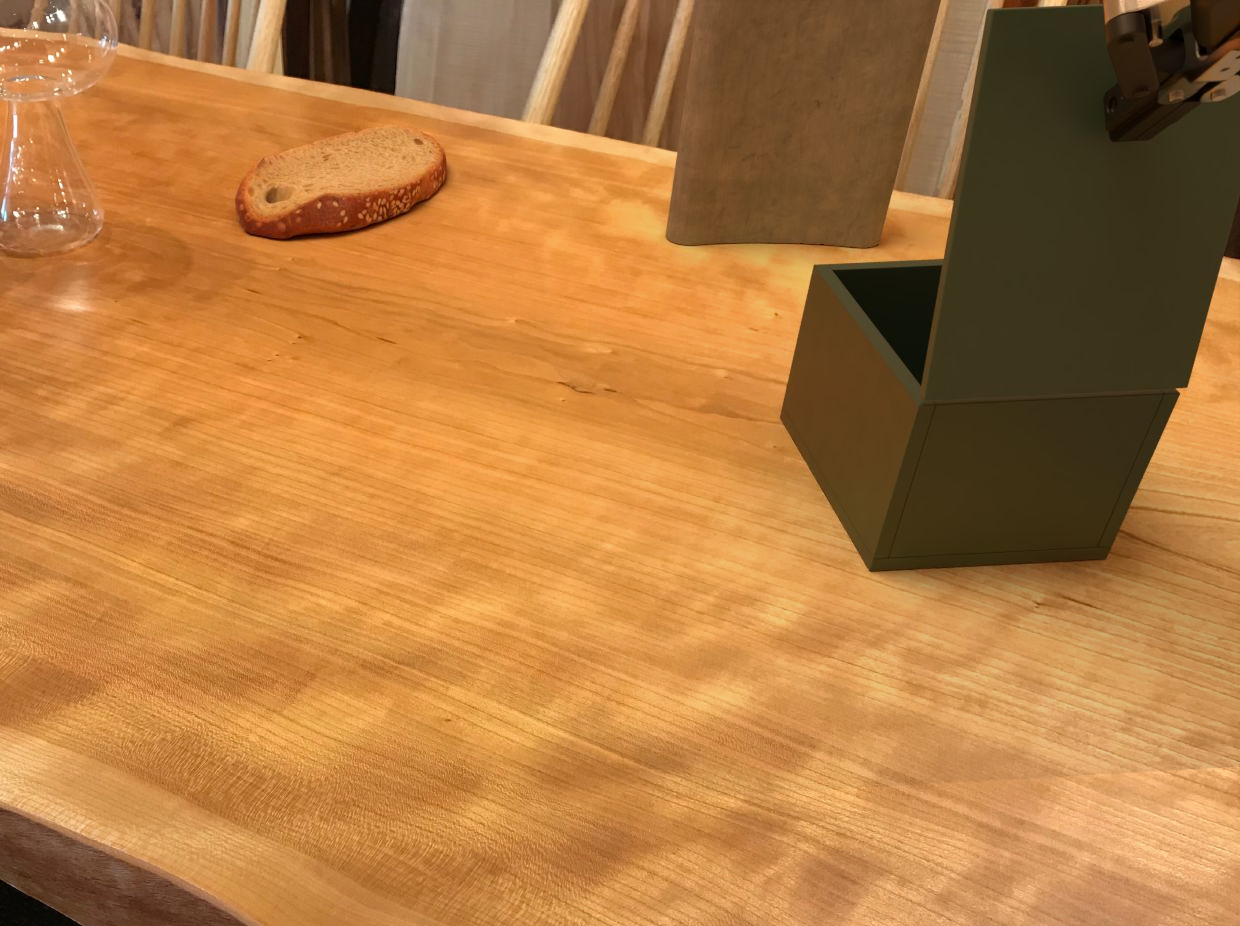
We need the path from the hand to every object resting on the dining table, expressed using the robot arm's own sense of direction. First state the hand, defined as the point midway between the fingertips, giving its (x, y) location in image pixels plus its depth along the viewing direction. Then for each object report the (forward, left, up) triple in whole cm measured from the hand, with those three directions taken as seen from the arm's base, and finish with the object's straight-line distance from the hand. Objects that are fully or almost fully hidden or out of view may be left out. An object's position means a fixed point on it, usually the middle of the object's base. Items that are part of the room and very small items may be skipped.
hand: (1125, 119), depth 55 cm
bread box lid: (0, 0, -4) cm, 4 cm away
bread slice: (+31, -52, -22) cm, 64 cm away
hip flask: (-1, -40, -22) cm, 46 cm away
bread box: (0, -6, -22) cm, 23 cm away
